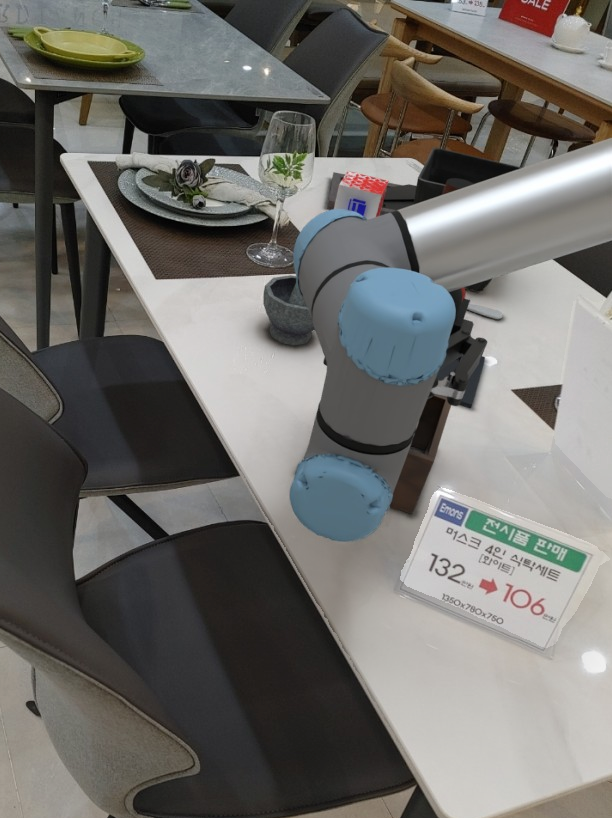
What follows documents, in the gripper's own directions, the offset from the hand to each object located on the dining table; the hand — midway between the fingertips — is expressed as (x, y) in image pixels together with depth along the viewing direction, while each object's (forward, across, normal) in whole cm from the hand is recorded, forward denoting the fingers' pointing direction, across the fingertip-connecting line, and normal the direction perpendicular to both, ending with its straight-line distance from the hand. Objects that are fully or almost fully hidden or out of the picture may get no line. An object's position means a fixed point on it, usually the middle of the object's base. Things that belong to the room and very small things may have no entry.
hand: (425, 299), depth 84 cm
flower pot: (+56, 0, -20) cm, 60 cm away
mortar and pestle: (+19, -18, -20) cm, 33 cm away
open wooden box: (-5, 0, -20) cm, 20 cm away
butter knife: (+43, -1, -20) cm, 48 cm away
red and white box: (+64, -20, -20) cm, 70 cm away
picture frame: (+78, -18, -20) cm, 83 cm away
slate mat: (+21, 0, -20) cm, 29 cm away
